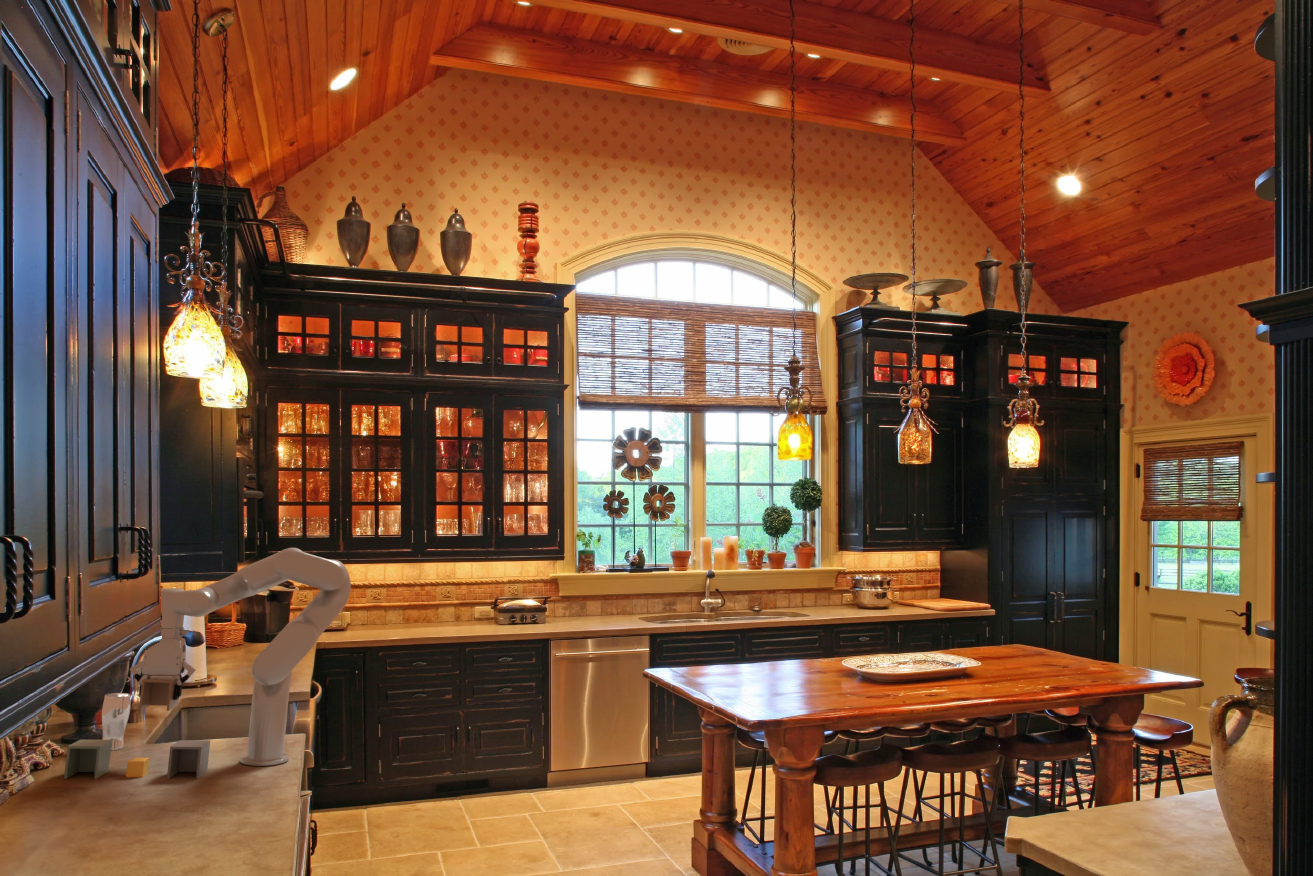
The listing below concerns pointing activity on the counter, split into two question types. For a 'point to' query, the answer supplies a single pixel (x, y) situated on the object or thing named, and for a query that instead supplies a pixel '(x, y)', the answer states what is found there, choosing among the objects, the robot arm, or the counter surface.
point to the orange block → (137, 767)
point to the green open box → (88, 757)
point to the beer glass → (115, 718)
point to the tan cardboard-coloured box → (158, 692)
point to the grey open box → (189, 757)
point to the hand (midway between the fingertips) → (159, 698)
